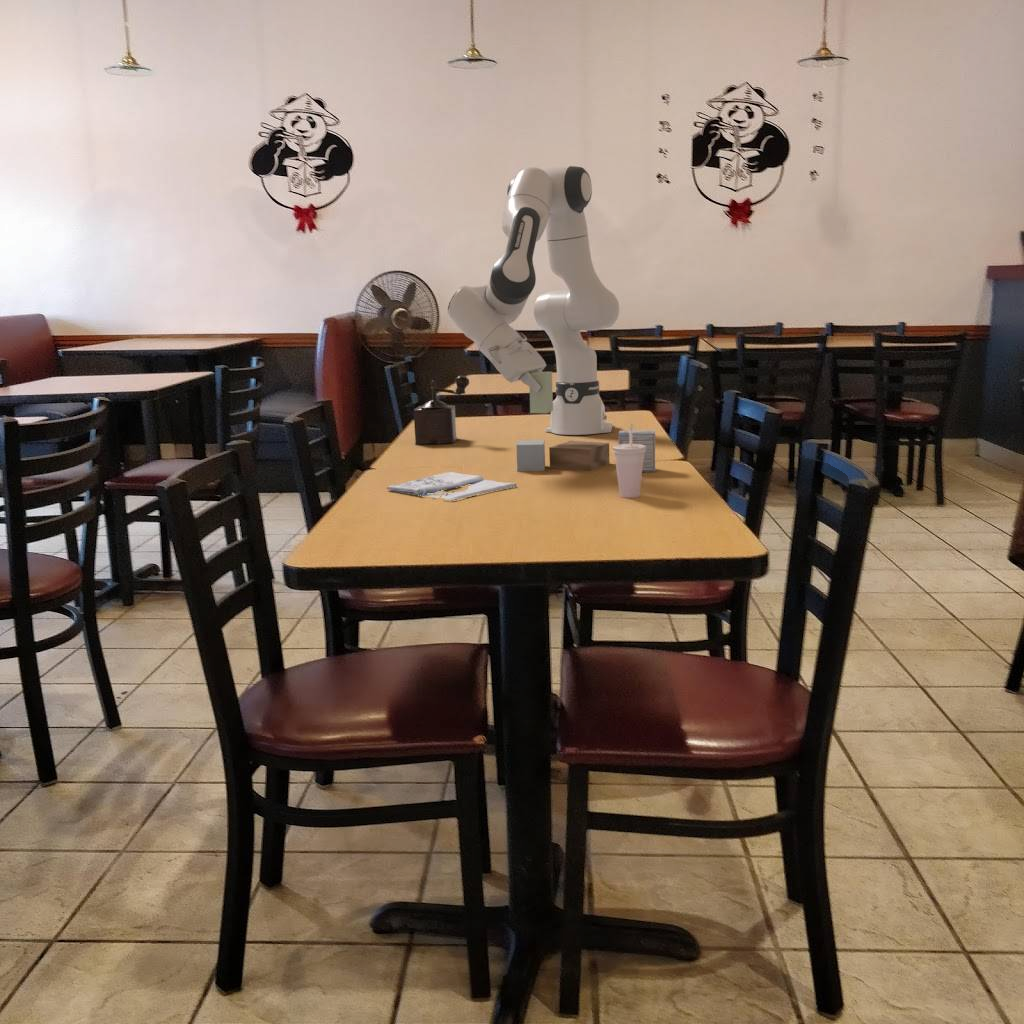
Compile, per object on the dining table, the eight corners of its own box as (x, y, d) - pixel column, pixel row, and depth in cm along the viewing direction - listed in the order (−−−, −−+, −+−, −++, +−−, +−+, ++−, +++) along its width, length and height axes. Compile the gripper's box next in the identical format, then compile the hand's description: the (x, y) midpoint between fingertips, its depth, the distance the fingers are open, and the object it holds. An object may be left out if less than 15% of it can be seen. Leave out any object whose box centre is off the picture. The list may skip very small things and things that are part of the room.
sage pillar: (536, 410, 222) (535, 371, 220) (552, 410, 220) (551, 371, 218) (530, 413, 217) (529, 373, 215) (546, 413, 216) (545, 373, 214)
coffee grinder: (413, 445, 255) (409, 377, 251) (420, 439, 266) (416, 374, 262) (471, 444, 254) (468, 376, 250) (475, 437, 265) (472, 372, 261)
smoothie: (625, 500, 180) (624, 427, 176) (606, 495, 185) (605, 423, 182) (653, 496, 182) (653, 423, 179) (633, 491, 188) (633, 420, 185)
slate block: (519, 466, 219) (518, 440, 218) (545, 466, 219) (544, 440, 217) (517, 471, 213) (516, 445, 212) (544, 471, 213) (543, 444, 211)
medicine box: (654, 468, 211) (654, 429, 209) (655, 472, 206) (655, 432, 204) (618, 469, 212) (618, 430, 210) (618, 472, 207) (618, 433, 205)
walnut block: (571, 461, 224) (570, 440, 223) (609, 464, 219) (609, 442, 218) (549, 469, 216) (549, 447, 215) (589, 472, 211) (588, 449, 209)
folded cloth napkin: (454, 479, 210) (454, 469, 209) (519, 490, 196) (519, 479, 195) (385, 493, 197) (384, 483, 197) (449, 506, 183) (448, 495, 182)
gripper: (494, 338, 208) (538, 383, 207) (525, 333, 226) (565, 374, 225) (476, 359, 210) (519, 403, 209) (508, 352, 229) (548, 393, 228)
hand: (543, 388), depth 217 cm, fingers closed on sage pillar, 4 cm apart
